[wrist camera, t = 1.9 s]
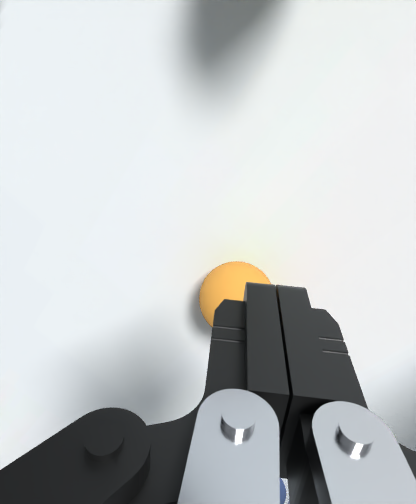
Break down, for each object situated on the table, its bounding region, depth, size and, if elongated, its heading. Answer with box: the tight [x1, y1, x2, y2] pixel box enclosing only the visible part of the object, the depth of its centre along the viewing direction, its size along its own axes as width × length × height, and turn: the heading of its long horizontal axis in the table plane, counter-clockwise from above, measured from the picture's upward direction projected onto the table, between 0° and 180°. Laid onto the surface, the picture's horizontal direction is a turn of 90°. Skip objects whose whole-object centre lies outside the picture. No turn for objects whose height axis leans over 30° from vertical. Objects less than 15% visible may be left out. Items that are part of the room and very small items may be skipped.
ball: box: [199, 262, 271, 328], centre depth 28 cm, size 6×6×6 cm
